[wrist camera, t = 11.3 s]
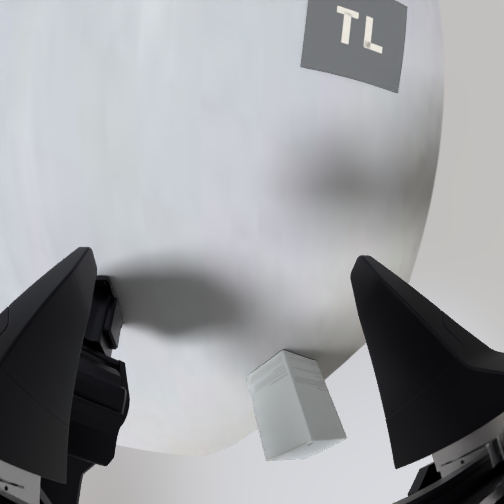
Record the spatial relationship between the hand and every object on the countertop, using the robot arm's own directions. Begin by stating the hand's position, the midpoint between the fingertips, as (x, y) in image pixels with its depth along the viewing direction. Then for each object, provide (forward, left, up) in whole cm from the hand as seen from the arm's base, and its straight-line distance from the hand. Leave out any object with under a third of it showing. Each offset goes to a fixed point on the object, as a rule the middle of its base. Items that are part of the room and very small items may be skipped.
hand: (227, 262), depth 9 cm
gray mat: (+10, +11, -13) cm, 20 cm away
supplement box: (+10, -28, -13) cm, 32 cm away
